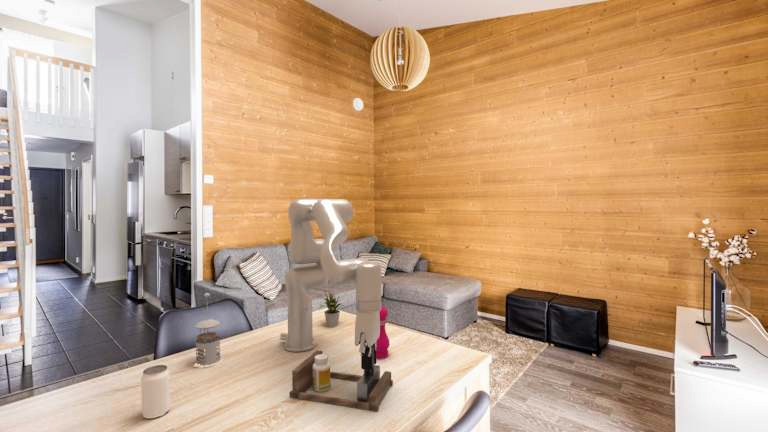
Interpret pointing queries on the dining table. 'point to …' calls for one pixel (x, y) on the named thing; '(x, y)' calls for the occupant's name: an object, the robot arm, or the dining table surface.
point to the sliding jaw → (368, 381)
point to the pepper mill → (382, 336)
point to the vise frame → (304, 378)
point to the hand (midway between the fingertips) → (368, 365)
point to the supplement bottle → (321, 373)
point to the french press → (207, 342)
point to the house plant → (331, 310)
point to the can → (155, 391)
